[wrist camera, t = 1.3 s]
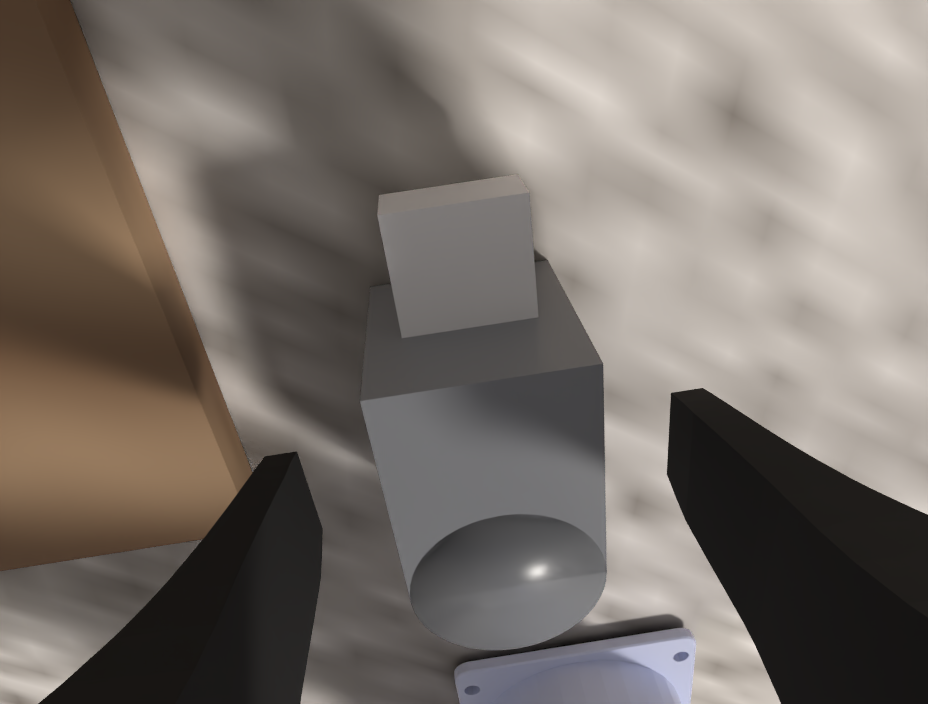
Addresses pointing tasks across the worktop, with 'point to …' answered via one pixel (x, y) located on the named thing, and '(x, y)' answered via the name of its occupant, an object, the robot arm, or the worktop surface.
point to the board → (92, 326)
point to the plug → (484, 419)
